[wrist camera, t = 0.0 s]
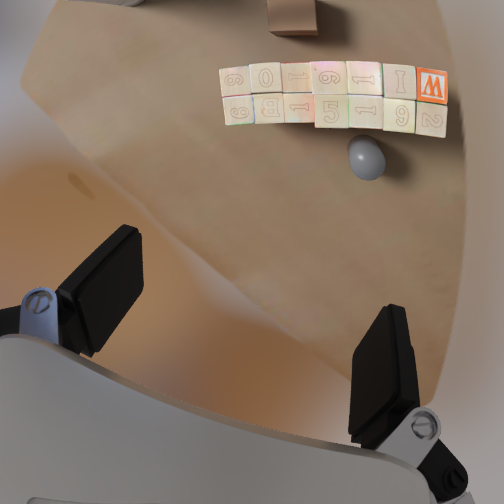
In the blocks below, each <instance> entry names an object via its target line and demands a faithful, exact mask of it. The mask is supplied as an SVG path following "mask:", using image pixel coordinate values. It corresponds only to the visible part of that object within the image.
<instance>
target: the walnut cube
mask: <svg viewBox="0 0 504 504" xmlns="http://www.w3.org/2000/svg"><path fill="white" fill-rule="evenodd" d="M267 10H268V23H269V32H271V33H273V34H274V35H276V36H293V35H318V22H317V9H316V0H267Z"/></svg>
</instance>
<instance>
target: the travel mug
mask: <svg viewBox="0 0 504 504" xmlns="http://www.w3.org/2000/svg"><path fill="white" fill-rule="evenodd" d="M70 1H85V2H96V3H106V4H114V5H122V6H130V7H131V6H135V5H138V4H140V3H141V2H143V1H144V0H70Z"/></svg>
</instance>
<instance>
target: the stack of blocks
mask: <svg viewBox="0 0 504 504" xmlns="http://www.w3.org/2000/svg"><path fill="white" fill-rule="evenodd" d="M219 74H220V82H221V92H222V97H223V106H224V113H225V123H226V125H239V124H252V123H255V124H265V123H307V122H315V128H349V127H353V128H371V129H382V130H384V131H394V132H405V133H415V134H419V135H427V136H434V137H441V138H445V136H446V123H447V106H446V104H447V101H448V74H447V72H445V71H440V70H433V69H427V68H420V67H414V66H407V65H396V64H381V63H380V62H366V61H311V62H300V63H280V62H272V63H258V64H250V65H248V66H241V67H230V68H223V69H219Z"/></svg>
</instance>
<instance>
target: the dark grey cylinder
mask: <svg viewBox="0 0 504 504" xmlns="http://www.w3.org/2000/svg"><path fill="white" fill-rule="evenodd" d="M348 155H349V160H350V166H351V169H352V171H353V173H354V174H355V175H356V176H357V177H358V178H360V179H363V180H374V179H376V178H378V177H380V176H381V175H382V173H383V172H384V170H385V166H386V161H385V157H384V155H383V153H382V152H381V150H380V148H379V146H378V145H377V143H376V141H375V140H374V139H373V138H371V137H370V136H367V135H358V136H355V137H354V138H353V139H352V140H351V141H350V142H349V145H348Z"/></svg>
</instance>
